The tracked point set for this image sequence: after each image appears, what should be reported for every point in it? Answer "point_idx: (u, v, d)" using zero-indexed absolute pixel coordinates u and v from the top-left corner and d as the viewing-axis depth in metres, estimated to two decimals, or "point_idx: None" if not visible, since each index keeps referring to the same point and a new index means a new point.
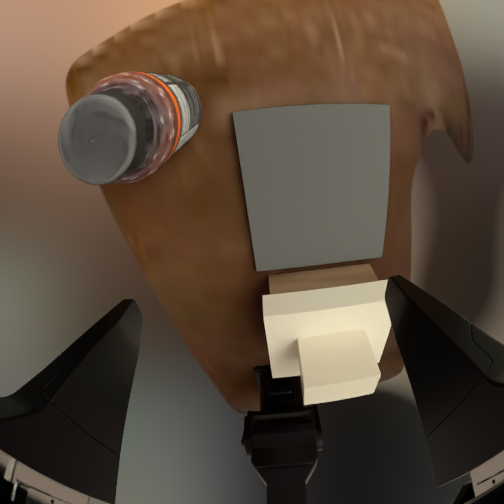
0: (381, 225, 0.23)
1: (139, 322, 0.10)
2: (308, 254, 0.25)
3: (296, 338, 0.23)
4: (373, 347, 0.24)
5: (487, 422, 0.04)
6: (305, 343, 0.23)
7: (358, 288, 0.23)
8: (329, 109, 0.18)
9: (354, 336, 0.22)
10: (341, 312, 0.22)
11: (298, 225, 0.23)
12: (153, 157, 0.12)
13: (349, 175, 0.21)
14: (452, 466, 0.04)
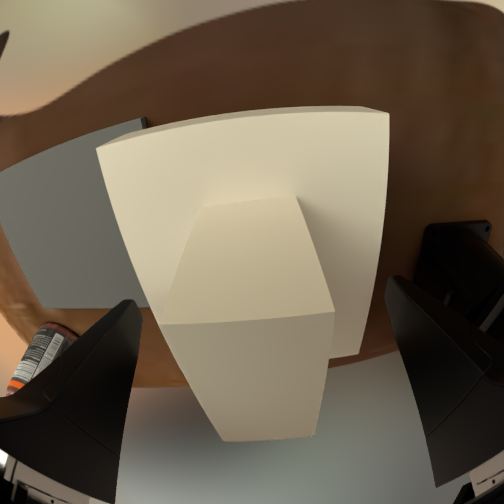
0: (86, 142, 0.12)
1: (139, 322, 0.10)
2: None
3: None
4: (296, 153, 0.08)
5: (487, 422, 0.04)
6: None
7: None
8: (9, 237, 0.15)
9: None
10: (149, 273, 0.10)
11: (112, 260, 0.17)
12: None
13: (44, 209, 0.14)
14: (452, 466, 0.04)
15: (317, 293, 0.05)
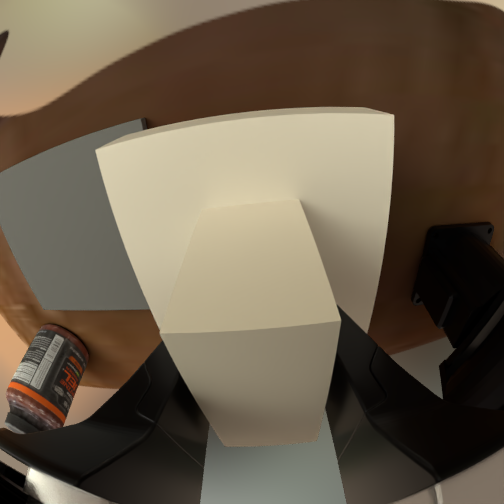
0: (86, 143, 0.12)
1: None
2: None
3: None
4: (300, 155, 0.08)
5: (372, 467, 0.04)
6: None
7: None
8: (9, 239, 0.15)
9: None
10: (150, 276, 0.10)
11: (113, 262, 0.16)
12: (31, 411, 0.14)
13: (44, 210, 0.14)
14: (355, 499, 0.05)
15: (322, 301, 0.05)
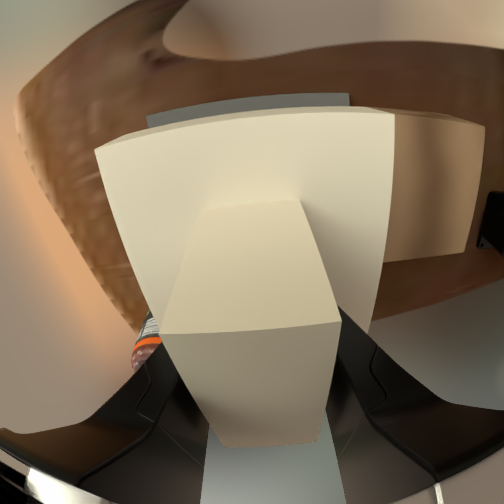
0: (300, 99, 0.17)
1: None
2: None
3: None
4: (300, 155, 0.08)
5: (373, 466, 0.04)
6: None
7: None
8: None
9: None
10: (150, 276, 0.10)
11: None
12: None
13: None
14: (355, 498, 0.05)
15: (323, 301, 0.05)
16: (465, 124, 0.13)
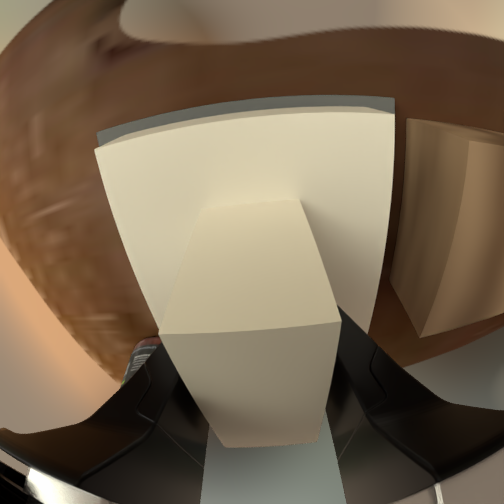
0: (324, 104, 0.11)
1: None
2: None
3: None
4: (300, 155, 0.08)
5: (372, 467, 0.04)
6: None
7: None
8: None
9: None
10: (149, 276, 0.10)
11: None
12: None
13: None
14: (355, 499, 0.05)
15: (323, 301, 0.05)
16: None
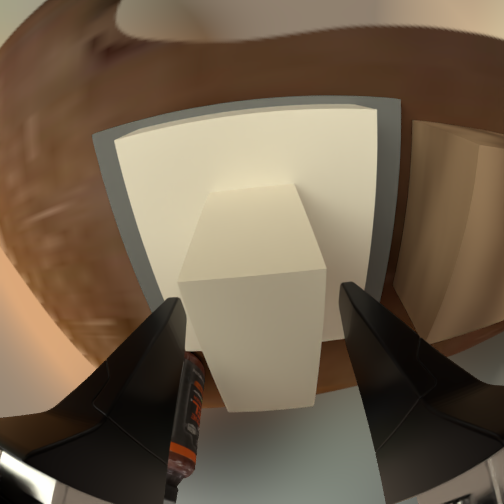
0: None
1: (184, 321, 0.09)
2: (371, 242, 0.14)
3: None
4: (294, 145, 0.09)
5: (426, 450, 0.04)
6: None
7: None
8: (124, 226, 0.13)
9: None
10: (160, 256, 0.11)
11: None
12: None
13: None
14: (398, 487, 0.04)
15: (311, 255, 0.06)
16: None
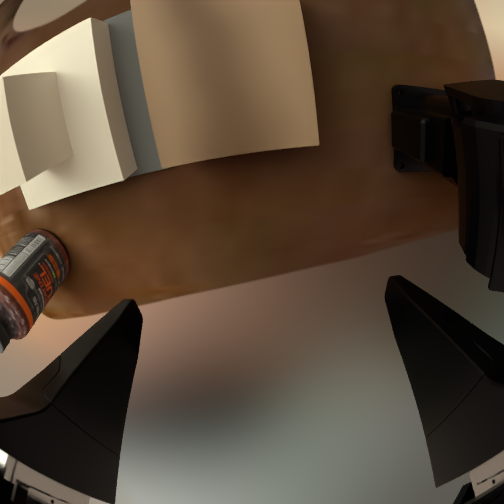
0: None
1: (139, 322, 0.10)
2: (137, 106, 0.16)
3: None
4: (54, 53, 0.11)
5: (487, 421, 0.04)
6: None
7: None
8: None
9: None
10: None
11: None
12: None
13: None
14: (452, 466, 0.04)
15: (6, 77, 0.08)
16: None
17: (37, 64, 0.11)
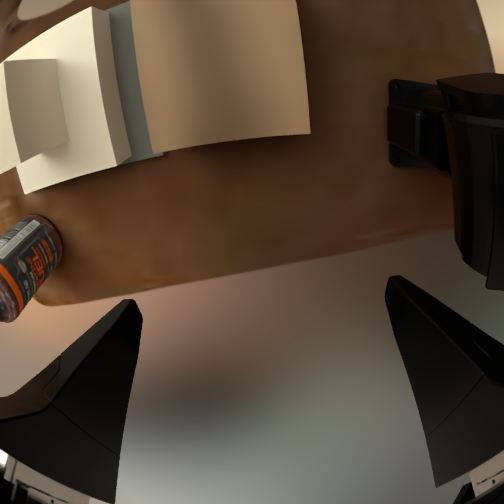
0: None
1: (139, 322, 0.10)
2: (134, 93, 0.15)
3: (40, 153, 0.15)
4: (55, 40, 0.10)
5: (487, 422, 0.04)
6: None
7: None
8: None
9: None
10: None
11: None
12: None
13: None
14: (452, 465, 0.04)
15: (7, 62, 0.07)
16: None
17: (38, 51, 0.11)
